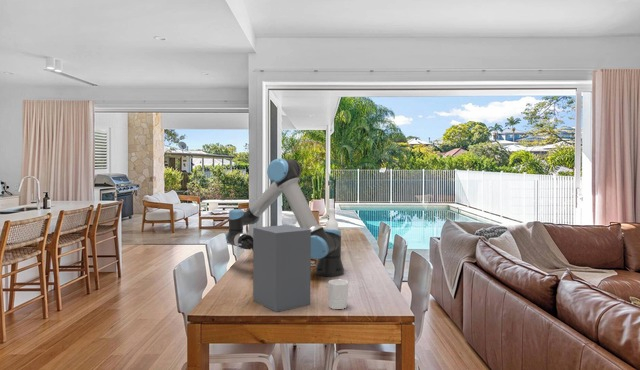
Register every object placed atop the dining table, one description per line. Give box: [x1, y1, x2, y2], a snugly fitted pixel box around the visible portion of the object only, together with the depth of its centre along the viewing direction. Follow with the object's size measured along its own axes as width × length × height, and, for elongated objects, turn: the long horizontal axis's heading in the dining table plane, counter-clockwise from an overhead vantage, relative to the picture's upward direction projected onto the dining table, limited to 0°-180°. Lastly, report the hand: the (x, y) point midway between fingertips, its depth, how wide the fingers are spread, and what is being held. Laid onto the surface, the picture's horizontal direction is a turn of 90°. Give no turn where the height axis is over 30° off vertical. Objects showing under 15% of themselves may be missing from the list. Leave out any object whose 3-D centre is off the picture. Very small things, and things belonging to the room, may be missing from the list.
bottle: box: [325, 207, 339, 230], centre depth 267 cm, size 8×8×30 cm
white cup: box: [327, 279, 349, 310], centre depth 167 cm, size 8×8×10 cm
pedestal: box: [252, 224, 312, 313], centre depth 172 cm, size 18×16×30 cm
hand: (266, 248), depth 204 cm, fingers closed on marker rod, 4 cm apart
